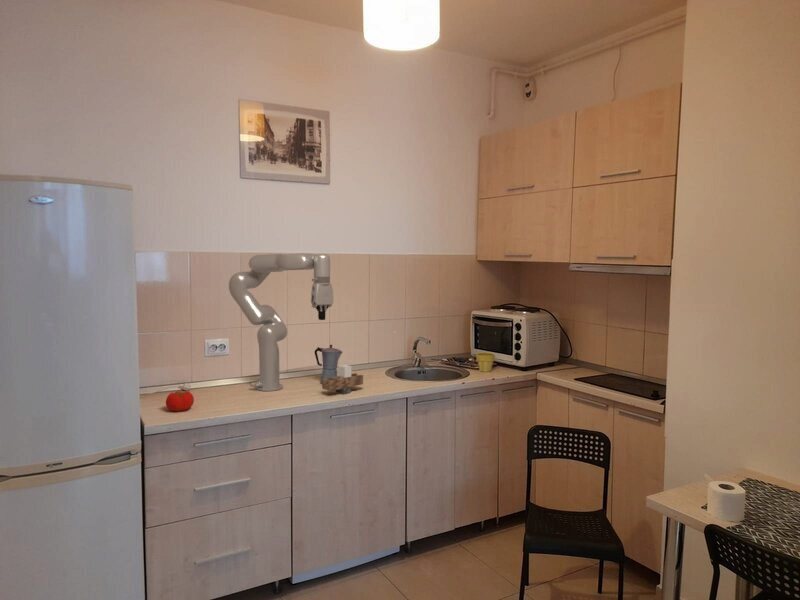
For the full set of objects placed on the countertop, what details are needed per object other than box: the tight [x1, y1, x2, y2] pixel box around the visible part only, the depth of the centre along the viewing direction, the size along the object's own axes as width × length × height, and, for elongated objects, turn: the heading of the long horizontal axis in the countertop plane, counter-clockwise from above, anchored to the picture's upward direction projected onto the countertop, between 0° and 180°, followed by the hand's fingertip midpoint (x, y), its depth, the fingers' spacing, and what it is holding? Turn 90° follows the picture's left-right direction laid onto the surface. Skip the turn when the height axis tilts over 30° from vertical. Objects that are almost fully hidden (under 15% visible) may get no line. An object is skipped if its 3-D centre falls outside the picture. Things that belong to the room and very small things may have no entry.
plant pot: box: [475, 352, 496, 373], centre depth 313 cm, size 10×10×10 cm
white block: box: [337, 364, 352, 379], centre depth 261 cm, size 4×5×7 cm
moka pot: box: [314, 344, 343, 384], centre depth 278 cm, size 10×15×20 cm, turn 78°
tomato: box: [165, 390, 195, 413], centre depth 229 cm, size 11×11×8 cm
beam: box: [321, 372, 364, 395], centre depth 260 cm, size 20×6×7 cm, turn 134°
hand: (321, 319), depth 257 cm, fingers closed
